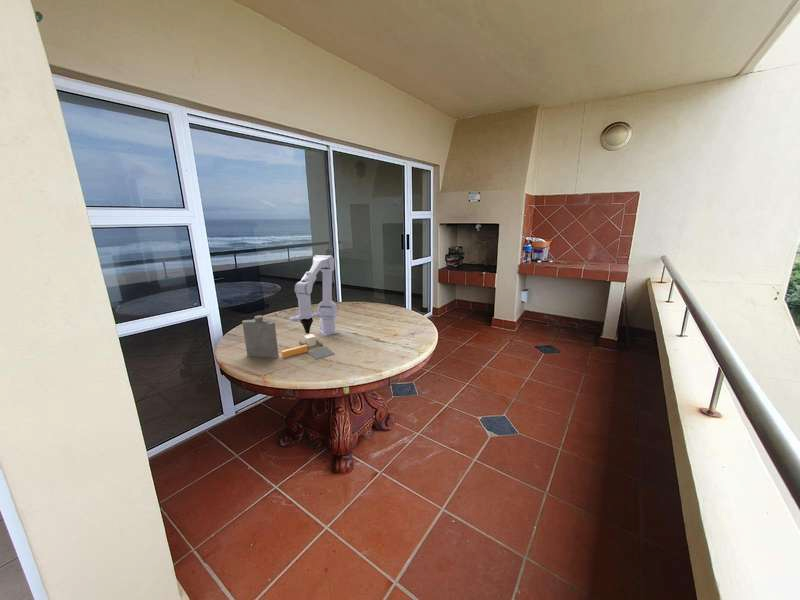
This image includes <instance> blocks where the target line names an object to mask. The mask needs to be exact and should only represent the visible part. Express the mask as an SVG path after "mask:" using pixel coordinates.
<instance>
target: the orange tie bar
mask: <svg viewBox="0 0 800 600" xmlns="http://www.w3.org/2000/svg"><path fill="white" fill-rule="evenodd" d="M306 352H309V349H307V345H303V346H302V345H299V346H296V347H291V348H288V349H284V350H281V358H282V359H285V358H288V357H291V356H295V355H300V354H303V353H306Z"/></svg>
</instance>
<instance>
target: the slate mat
mask: <svg viewBox="0 0 800 600" xmlns="http://www.w3.org/2000/svg"><path fill="white" fill-rule="evenodd" d="M307 354H308V355H309V356H311V357H312V358H313V360H315V361H317V360H320V359H324V358H327V357H330V356H334V355H336V353H335V352H334V351H333V350H331V349H330V348H328V347H327V346H324V347H320V348H316V349H314V350H311V351H310V350H308V351H307Z"/></svg>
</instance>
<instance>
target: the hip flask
mask: <svg viewBox="0 0 800 600" xmlns="http://www.w3.org/2000/svg"><path fill="white" fill-rule="evenodd" d="M253 318H254V319H246V320H245V319H244V320H242V321H241V323H242V330H243V336H244V343H245V350H246V356H247V357H259V358H269V359H277V358H279V348H278V338H277V330H276V322H275V321H272V320H268V319H267V320H266V319H263V318H264V316H263V315H260V314H259V315H255V316H254V317H253Z"/></svg>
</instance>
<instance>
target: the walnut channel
mask: <svg viewBox="0 0 800 600" xmlns="http://www.w3.org/2000/svg"><path fill="white" fill-rule="evenodd" d="M298 343H299V345H300V346H303V345H307V344H305V341H304V340H302V339H300V340H298ZM316 343H317V345H318V346H319V347H323V342H322V341H321V340H319V339H318V338H317V337H316ZM307 349H308V350H310V347H309V346H308V345H307Z"/></svg>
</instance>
